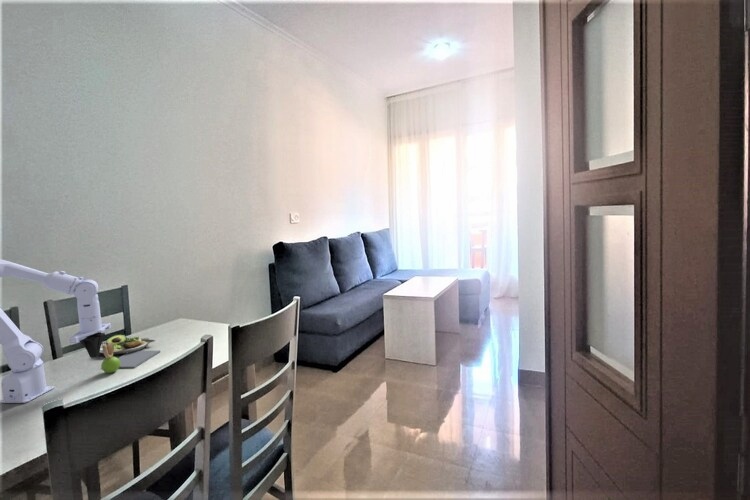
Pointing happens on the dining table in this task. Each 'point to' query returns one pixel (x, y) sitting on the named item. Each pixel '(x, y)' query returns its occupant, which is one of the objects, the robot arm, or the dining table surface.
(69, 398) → the dining table surface
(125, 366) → the slate mat
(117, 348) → the salad plate
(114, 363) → the snail figurine
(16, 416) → the dining table surface
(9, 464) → the dining table surface
